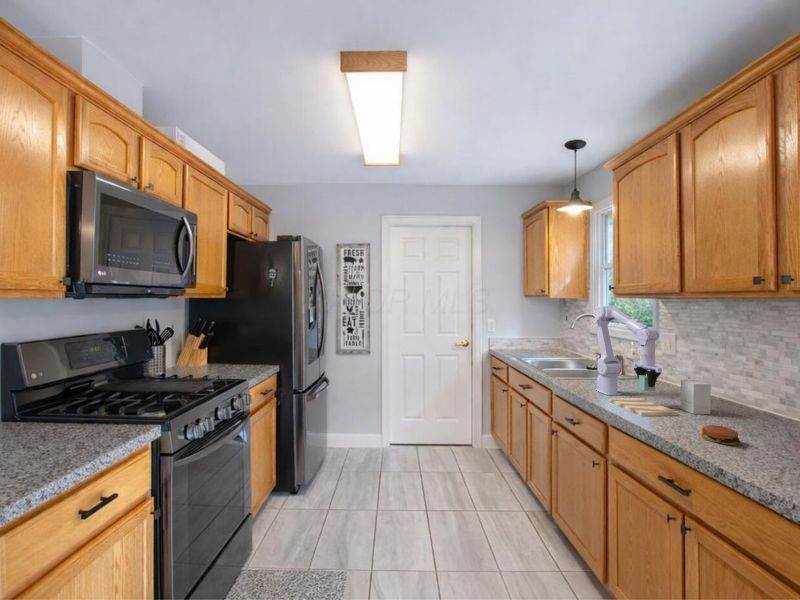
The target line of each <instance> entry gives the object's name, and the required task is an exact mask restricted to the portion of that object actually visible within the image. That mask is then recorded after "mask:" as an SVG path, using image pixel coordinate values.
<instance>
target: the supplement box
mask: <svg viewBox="0 0 800 600" xmlns="http://www.w3.org/2000/svg"><path fill="white" fill-rule="evenodd" d="M711 387H712V386H711V383H707V382H704V381H700V380H693V379H691V380H688V379H687V380H683V379H682V380H680V407H679V408H680V409H681V410H682V411H685V412H688V413H691V414H692V415H710V414H711Z"/></svg>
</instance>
